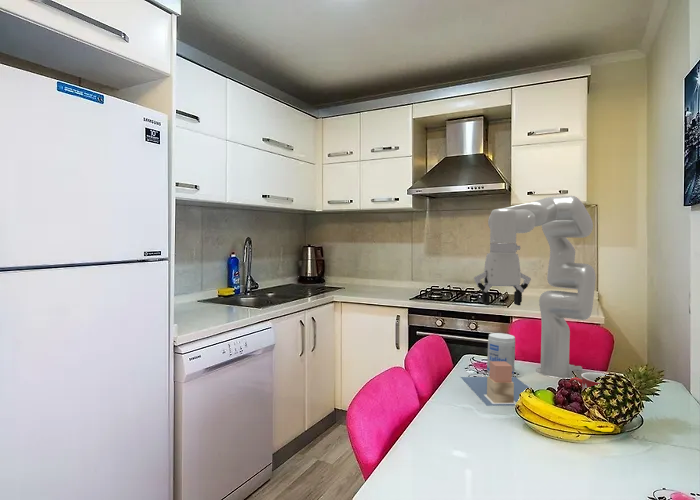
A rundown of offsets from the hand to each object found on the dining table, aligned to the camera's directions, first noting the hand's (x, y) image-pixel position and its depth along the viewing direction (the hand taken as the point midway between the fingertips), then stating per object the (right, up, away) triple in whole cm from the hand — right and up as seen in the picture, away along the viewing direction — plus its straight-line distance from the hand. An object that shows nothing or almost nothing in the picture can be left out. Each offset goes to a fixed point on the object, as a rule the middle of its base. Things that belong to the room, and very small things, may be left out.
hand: (501, 304), depth 129 cm
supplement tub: (+10, -30, +28) cm, 42 cm away
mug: (+19, -31, -15) cm, 39 cm away
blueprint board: (+3, -30, +9) cm, 32 cm away
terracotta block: (0, -23, +1) cm, 23 cm away
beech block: (0, -29, +1) cm, 29 cm away
